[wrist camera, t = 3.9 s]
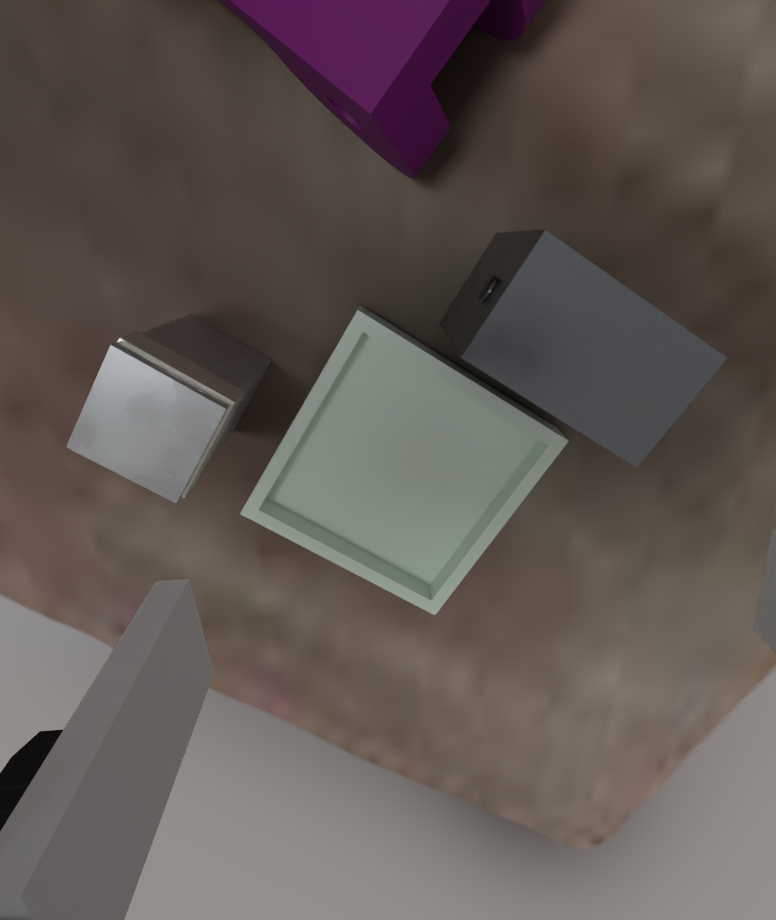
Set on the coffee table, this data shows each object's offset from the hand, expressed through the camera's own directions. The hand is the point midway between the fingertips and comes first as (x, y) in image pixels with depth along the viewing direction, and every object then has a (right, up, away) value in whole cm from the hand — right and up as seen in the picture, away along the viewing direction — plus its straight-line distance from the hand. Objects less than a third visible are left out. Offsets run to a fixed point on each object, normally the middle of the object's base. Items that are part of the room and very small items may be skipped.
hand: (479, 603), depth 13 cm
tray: (-1, +3, +22) cm, 22 cm away
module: (-12, +8, +20) cm, 25 cm away
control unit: (+6, +11, +19) cm, 23 cm away
